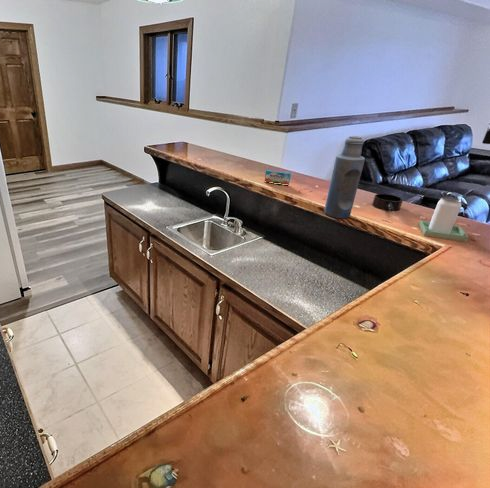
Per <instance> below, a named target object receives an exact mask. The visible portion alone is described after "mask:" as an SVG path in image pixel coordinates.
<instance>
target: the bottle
mask: <svg viewBox="0 0 490 488" xmlns="http://www.w3.org/2000/svg"><path fill="white" fill-rule="evenodd" d="M364 142H365V141H364V139H363V138H362V136H358V135H349V136H348V137H347V138H346V139H345V141H344V146H343V148H342V151H341V153H340V154H336V156H335V159H334V166H333V169H332V174H331V178H330V183H329V187H328V191H327V197H326V200H325V201H326V202H325V206H324V209H323V213H324V215H327V216H329V217H331V218H334V219H335V218H336V219H348V218H349V217H350V216H351V214H352V209H353V206H354V203H355V198H356V195H357V191H358V187H359V184H360V179H361V176H362V172H363V168H364V165H365V160H366V157H364V156H362V152H363V151H362V149H363V145H364Z"/></svg>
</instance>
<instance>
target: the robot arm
mask: <svg viewBox="0 0 490 488" xmlns="http://www.w3.org/2000/svg"><path fill="white" fill-rule="evenodd" d="M488 125H489V126H488V127H487V129H486V132H485V134H484V137H483V140H482V142H481V143H482V144H483V145H490V122H489V124H488Z"/></svg>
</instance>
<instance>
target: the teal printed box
mask: <svg viewBox="0 0 490 488" xmlns="http://www.w3.org/2000/svg"><path fill="white" fill-rule="evenodd" d="M291 176H292V173H290V172H283V171H276V170H270V169H269V170H266V171H265V175H264V181H266V182H273V183H281V184H288V185H289V186H290V183H291ZM268 184H270V183H268ZM275 185H276V186H278V185H277V184H275Z"/></svg>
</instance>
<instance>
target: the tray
mask: <svg viewBox="0 0 490 488" xmlns="http://www.w3.org/2000/svg"><path fill="white" fill-rule="evenodd" d="M430 222H431V221H427V220H419V222H418V228H419V230H420V232H421V234H422V235H423V236H424V237H429V238H437V239H442V240H450V241H457V242H462V243H467V242H468V240H469V235H468V234H467V233H466V232H465V230H464V229H463V228H462V226H460V225H455V224H454V225H453V228H452V230H451V232H450V234H447V233H441V232H434V231H429V229H428V227H429V225H430Z"/></svg>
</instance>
